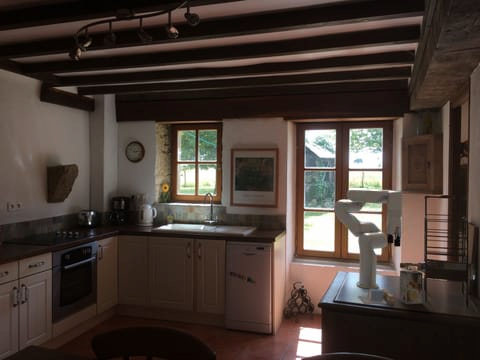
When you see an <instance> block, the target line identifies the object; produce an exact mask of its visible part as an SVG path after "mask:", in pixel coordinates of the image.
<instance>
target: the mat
mask: <svg viewBox="0 0 480 360" xmlns="http://www.w3.org/2000/svg"><path fill="white" fill-rule="evenodd" d="M357 298H359V300H361V302H362V303H363V304H370V305H371V304H373V305H375V304H376V305H377V304H378V305H381V304H382V305H387V304H388V302H387V301H386V300H384V299H383V298H382V301H372V300H371V299H370V298H369V295H357Z"/></svg>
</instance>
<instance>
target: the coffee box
mask: <svg viewBox="0 0 480 360" xmlns="http://www.w3.org/2000/svg"><path fill="white" fill-rule="evenodd" d="M399 301H400V302H402V303H404V304H406V305H414V304H416V305H417V304H422V303H423V272H422V271H421V272H420V271H419V270H415V269H412V270H411V269H409V270H399Z"/></svg>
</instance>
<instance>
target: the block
mask: <svg viewBox="0 0 480 360" xmlns="http://www.w3.org/2000/svg"><path fill="white" fill-rule="evenodd" d="M368 290H369V291H368V296H369V298H370V299H371V300H372V301H382V299H383V291H382V289H380V288H376V289H368Z"/></svg>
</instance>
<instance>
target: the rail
mask: <svg viewBox="0 0 480 360" xmlns="http://www.w3.org/2000/svg"><path fill="white" fill-rule="evenodd" d="M381 290H382V291H383V298H382V299H383V300H385V301H386V302H387V304H388V305H395V301H394V300H395V297H394V295H393V294H391V293H390V292H389V291H388V290H387V289H381Z"/></svg>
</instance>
